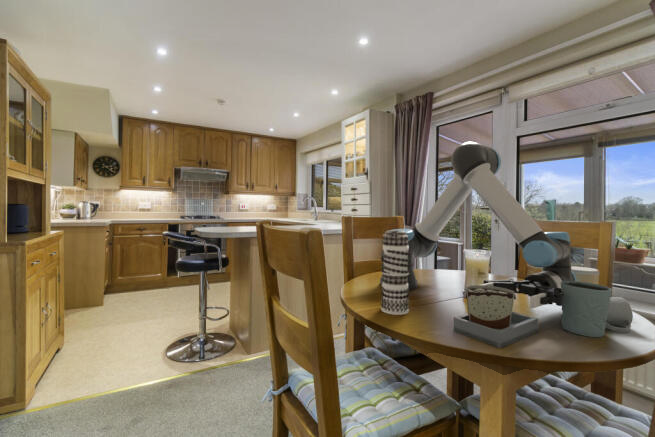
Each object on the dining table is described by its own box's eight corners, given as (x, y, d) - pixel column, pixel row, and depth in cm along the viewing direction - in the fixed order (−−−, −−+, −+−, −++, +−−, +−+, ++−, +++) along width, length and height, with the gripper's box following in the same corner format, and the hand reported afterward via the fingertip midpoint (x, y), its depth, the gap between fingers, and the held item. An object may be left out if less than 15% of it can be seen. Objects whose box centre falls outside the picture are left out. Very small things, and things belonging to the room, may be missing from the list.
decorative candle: (416, 311, 94) (417, 231, 94) (394, 317, 89) (395, 231, 89) (395, 304, 102) (396, 229, 102) (374, 308, 97) (374, 230, 97)
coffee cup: (588, 300, 108) (589, 266, 107) (605, 309, 98) (606, 271, 98) (557, 298, 110) (558, 265, 109) (572, 306, 101) (572, 270, 100)
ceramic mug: (581, 318, 90) (582, 292, 90) (615, 320, 88) (616, 294, 87) (603, 332, 80) (604, 303, 79) (642, 335, 78) (643, 305, 77)
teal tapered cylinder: (550, 322, 86) (552, 279, 85) (589, 324, 84) (591, 281, 84) (576, 337, 75) (578, 288, 75) (621, 340, 74) (623, 291, 74)
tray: (453, 330, 80) (453, 317, 79) (491, 318, 89) (492, 306, 89) (500, 348, 69) (500, 333, 69) (537, 331, 79) (538, 318, 79)
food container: (505, 322, 83) (506, 285, 83) (515, 331, 77) (516, 291, 77) (457, 319, 85) (458, 283, 85) (464, 328, 79) (464, 289, 78)
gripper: (594, 309, 81) (558, 325, 70) (500, 288, 102) (460, 298, 91) (595, 281, 81) (559, 292, 70) (500, 266, 102) (461, 273, 91)
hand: (503, 296), depth 80 cm, fingers open, 13 cm apart
